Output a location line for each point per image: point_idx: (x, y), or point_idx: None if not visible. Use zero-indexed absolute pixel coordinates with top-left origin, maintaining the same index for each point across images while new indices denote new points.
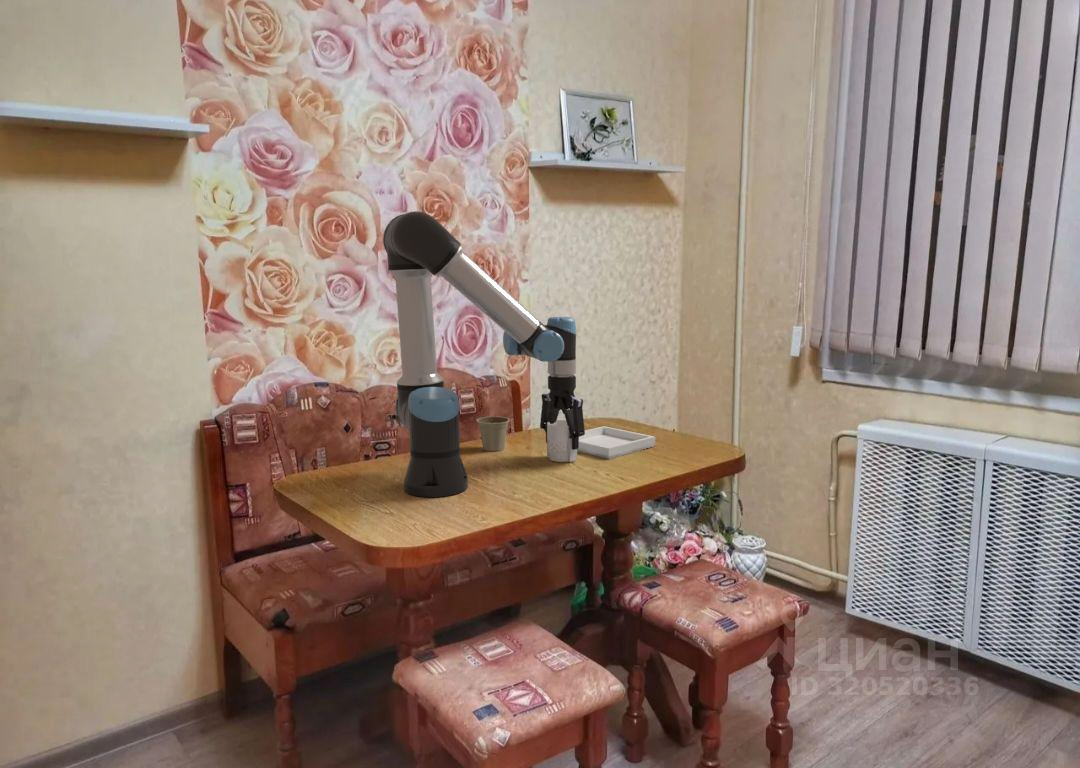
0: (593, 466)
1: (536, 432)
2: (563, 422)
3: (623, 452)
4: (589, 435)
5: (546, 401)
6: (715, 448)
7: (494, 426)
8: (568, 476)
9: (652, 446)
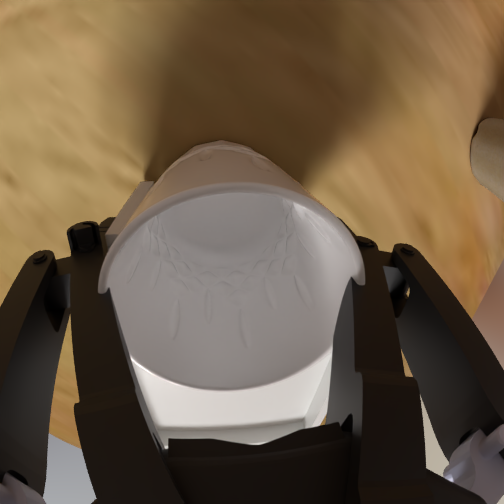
0: (54, 219)
1: None
2: (289, 361)
3: None
4: (315, 400)
5: (485, 424)
6: None
7: None
8: (19, 56)
9: None
